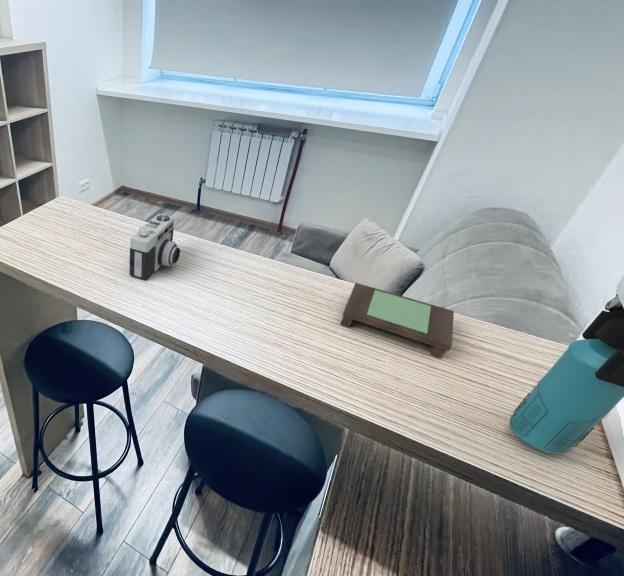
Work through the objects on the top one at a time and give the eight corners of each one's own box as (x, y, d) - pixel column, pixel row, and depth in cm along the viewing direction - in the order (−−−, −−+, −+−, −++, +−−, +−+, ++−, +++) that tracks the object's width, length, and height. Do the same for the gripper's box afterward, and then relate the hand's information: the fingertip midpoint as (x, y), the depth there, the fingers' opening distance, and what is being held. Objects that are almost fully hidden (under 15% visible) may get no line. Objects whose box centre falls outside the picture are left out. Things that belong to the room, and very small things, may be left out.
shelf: (445, 325, 75) (454, 310, 73) (442, 361, 68) (452, 344, 65) (349, 296, 83) (355, 281, 80) (338, 325, 75) (344, 310, 73)
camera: (161, 286, 87) (164, 245, 81) (128, 276, 90) (128, 235, 84) (187, 257, 96) (191, 218, 91) (155, 248, 100) (157, 211, 94)
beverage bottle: (566, 472, 52) (693, 358, 40) (499, 444, 55) (599, 332, 43) (561, 436, 56) (674, 324, 44) (499, 412, 59) (589, 302, 48)
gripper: (876, 276, 29) (680, 430, 39) (761, 197, 40) (633, 332, 51) (715, 247, 33) (573, 395, 43) (651, 182, 44) (552, 311, 54)
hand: (606, 360), depth 47 cm, fingers open, 7 cm apart
